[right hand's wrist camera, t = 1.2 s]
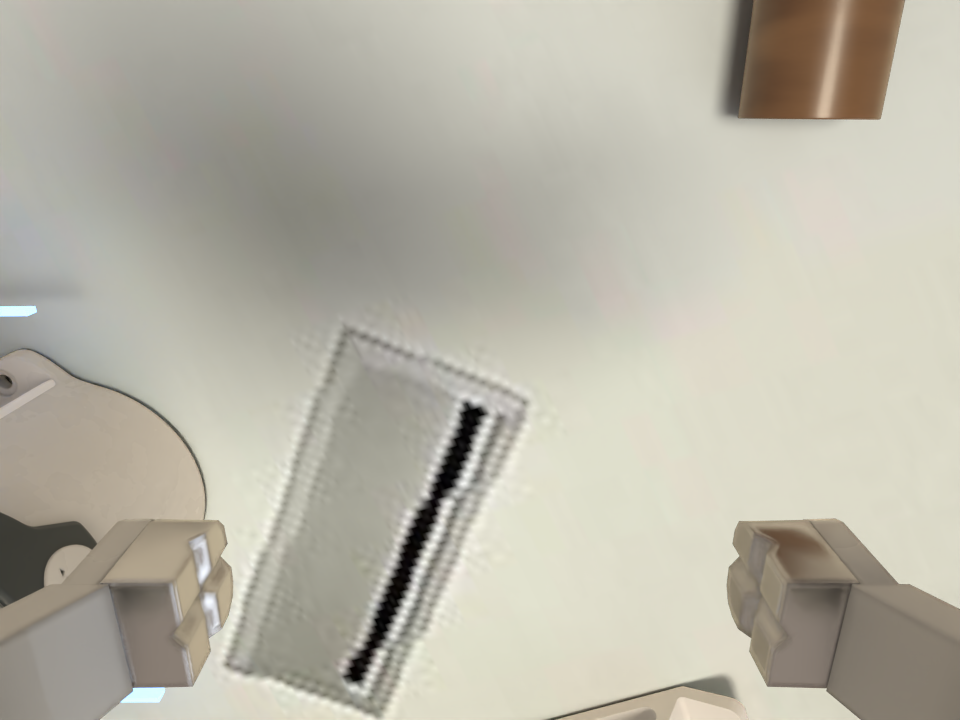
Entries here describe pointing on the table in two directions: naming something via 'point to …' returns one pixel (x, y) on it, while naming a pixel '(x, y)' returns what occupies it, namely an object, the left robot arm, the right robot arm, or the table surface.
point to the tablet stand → (670, 707)
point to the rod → (819, 58)
